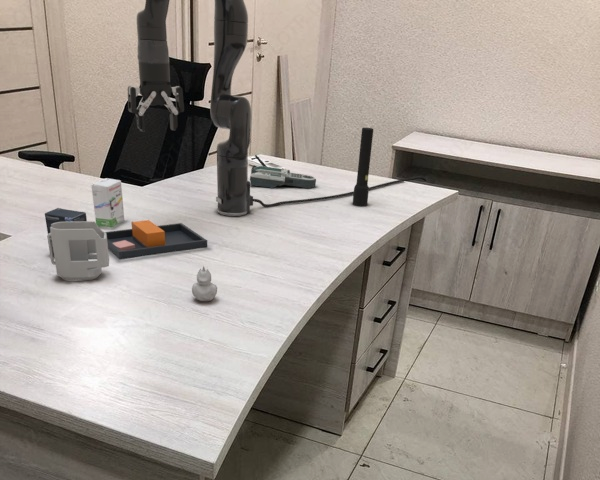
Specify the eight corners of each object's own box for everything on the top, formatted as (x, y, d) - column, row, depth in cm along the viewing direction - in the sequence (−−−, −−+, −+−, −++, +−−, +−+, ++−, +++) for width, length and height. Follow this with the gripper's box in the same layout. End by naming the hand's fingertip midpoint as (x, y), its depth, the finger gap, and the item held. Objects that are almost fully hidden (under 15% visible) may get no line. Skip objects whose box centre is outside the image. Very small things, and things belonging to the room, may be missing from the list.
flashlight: (349, 203, 212) (360, 207, 209) (356, 127, 199) (368, 129, 196) (359, 201, 215) (370, 205, 212) (367, 126, 202) (378, 129, 199)
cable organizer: (110, 281, 142) (104, 228, 136) (52, 282, 139) (44, 229, 133) (110, 270, 148) (105, 220, 141) (55, 272, 145) (47, 220, 139)
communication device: (315, 191, 224) (317, 166, 219) (249, 187, 223) (250, 161, 219) (315, 183, 234) (317, 159, 229) (252, 179, 234) (252, 154, 229)
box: (50, 256, 154) (43, 212, 148) (64, 249, 158) (58, 207, 153) (78, 260, 152) (72, 217, 146) (91, 253, 157) (86, 211, 151)
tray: (181, 231, 176) (181, 222, 175) (207, 249, 164) (207, 240, 163) (98, 241, 165) (97, 232, 163) (120, 261, 153) (119, 252, 152)
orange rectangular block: (150, 236, 169) (149, 219, 166) (166, 249, 161) (165, 231, 159) (132, 239, 166) (130, 221, 164) (147, 251, 159) (146, 233, 156)
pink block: (125, 243, 163) (124, 240, 162) (135, 248, 160) (135, 244, 160) (110, 247, 160) (109, 243, 159) (120, 251, 157) (119, 247, 157)
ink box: (111, 229, 174) (107, 186, 168) (95, 227, 175) (90, 184, 169) (125, 221, 181) (121, 179, 175) (109, 219, 182) (105, 177, 176)
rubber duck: (190, 304, 134) (189, 268, 130) (194, 292, 139) (193, 257, 135) (215, 305, 134) (215, 269, 130) (218, 293, 140) (218, 259, 135)
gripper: (131, 61, 148) (136, 134, 157) (186, 62, 155) (189, 132, 164) (120, 58, 154) (126, 129, 162) (174, 59, 160) (177, 127, 169)
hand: (158, 130), depth 163 cm, fingers open, 8 cm apart
